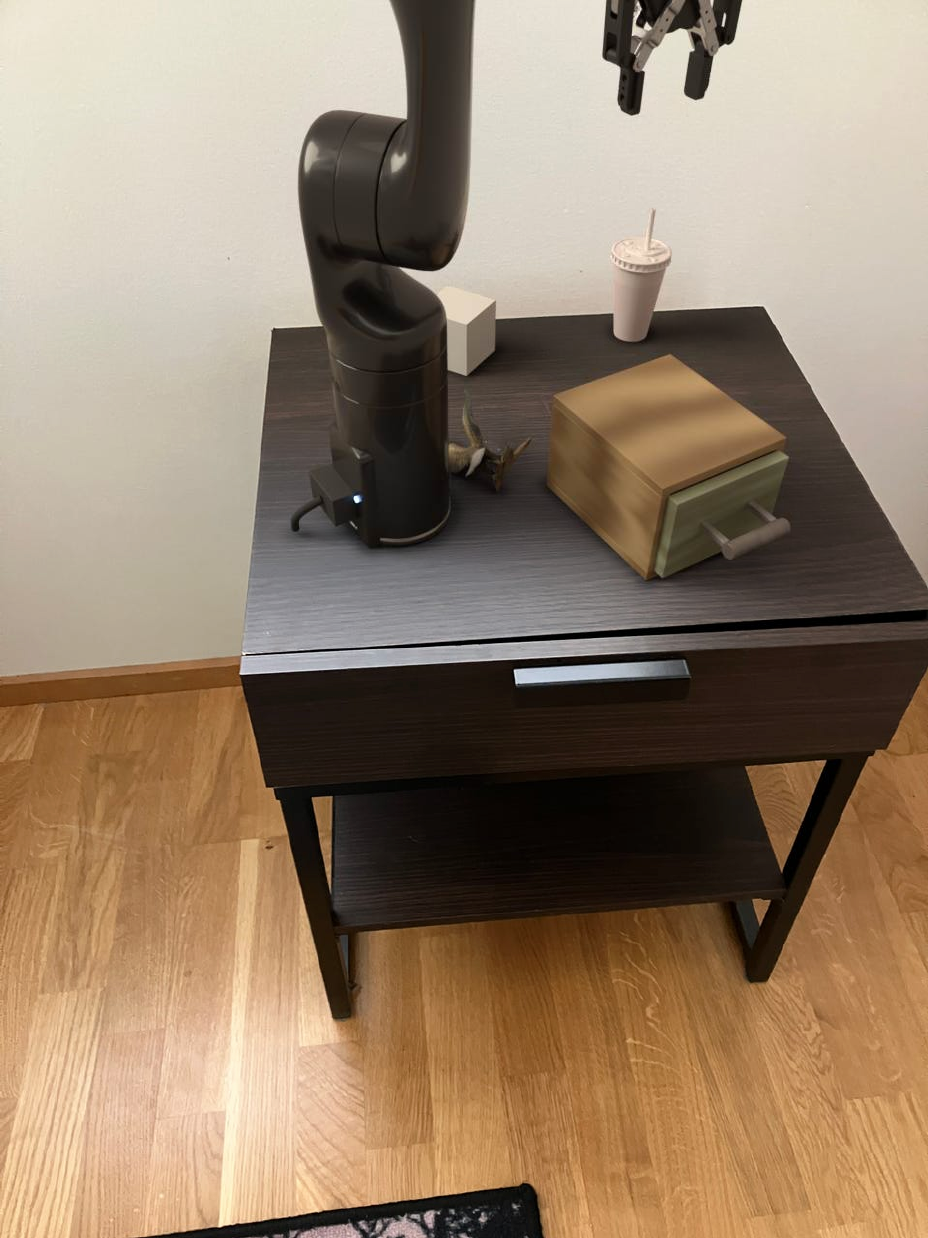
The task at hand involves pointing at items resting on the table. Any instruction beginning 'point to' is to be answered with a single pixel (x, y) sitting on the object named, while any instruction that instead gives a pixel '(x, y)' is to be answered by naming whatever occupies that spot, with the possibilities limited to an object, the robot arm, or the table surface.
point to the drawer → (723, 515)
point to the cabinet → (645, 449)
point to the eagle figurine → (480, 450)
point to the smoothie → (637, 282)
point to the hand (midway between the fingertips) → (661, 104)
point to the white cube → (468, 328)
